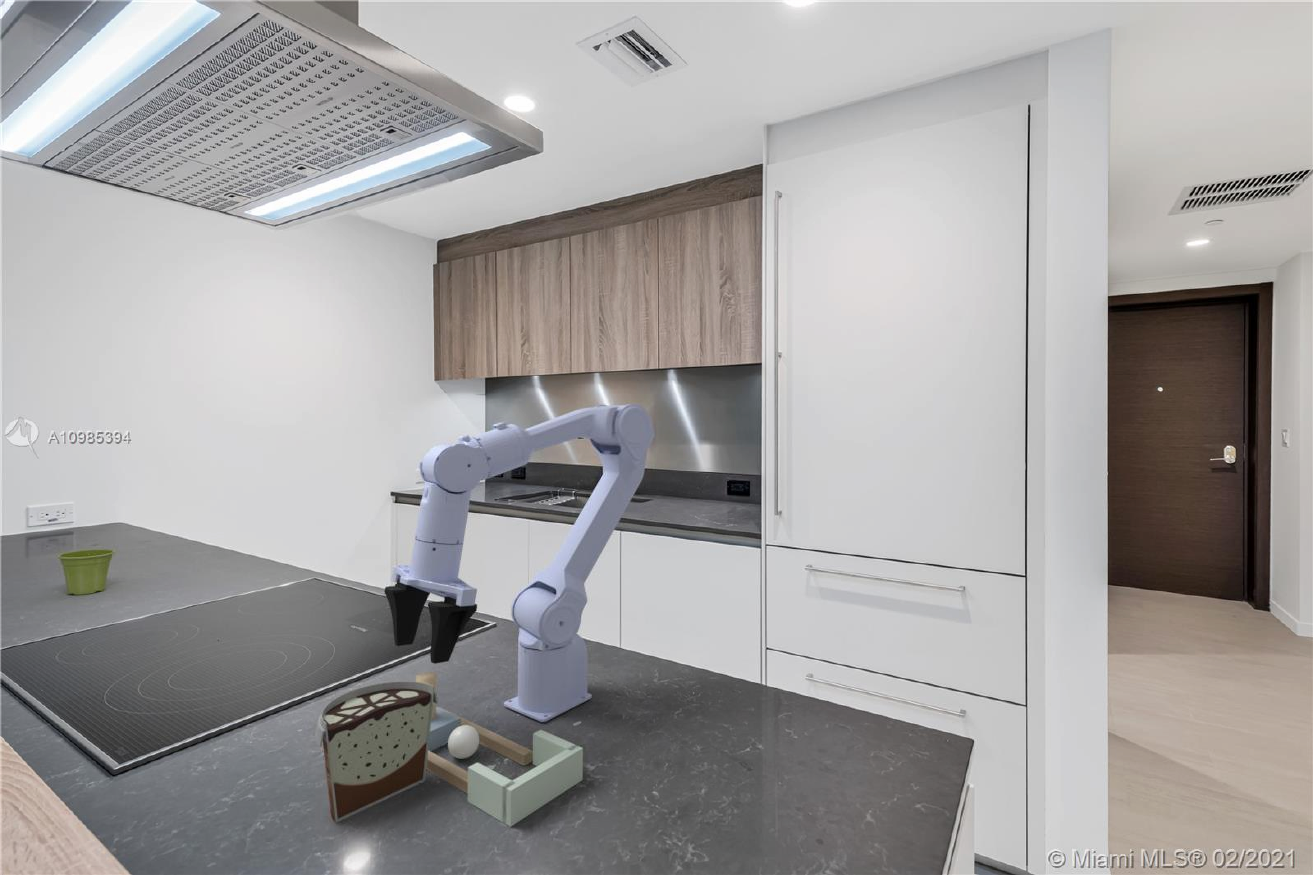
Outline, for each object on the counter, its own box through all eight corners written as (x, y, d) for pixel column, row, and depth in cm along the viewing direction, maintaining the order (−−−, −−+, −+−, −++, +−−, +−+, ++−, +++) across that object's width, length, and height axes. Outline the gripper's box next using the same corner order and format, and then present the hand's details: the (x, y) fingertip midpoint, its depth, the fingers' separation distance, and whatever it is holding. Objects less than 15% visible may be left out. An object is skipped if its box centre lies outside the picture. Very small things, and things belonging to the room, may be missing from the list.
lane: (438, 715, 82) (439, 706, 82) (532, 761, 71) (532, 751, 71) (378, 741, 75) (378, 731, 75) (471, 795, 64) (471, 784, 64)
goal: (540, 759, 71) (540, 729, 71) (582, 780, 67) (582, 748, 67) (467, 801, 63) (467, 767, 63) (510, 827, 59) (510, 790, 59)
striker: (436, 725, 79) (437, 667, 79) (460, 737, 76) (461, 676, 76) (400, 741, 75) (400, 679, 75) (424, 754, 72) (424, 690, 72)
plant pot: (116, 584, 145) (116, 547, 144) (113, 593, 137) (113, 554, 137) (60, 590, 139) (60, 551, 139) (54, 600, 131) (54, 559, 131)
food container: (408, 755, 72) (409, 670, 72) (437, 775, 68) (438, 684, 68) (293, 804, 62) (293, 706, 62) (319, 830, 58) (319, 725, 58)
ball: (466, 745, 74) (467, 716, 74) (485, 755, 72) (485, 725, 72) (441, 758, 71) (441, 728, 71) (459, 768, 69) (460, 737, 69)
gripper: (377, 531, 77) (358, 641, 76) (447, 551, 69) (427, 676, 68) (426, 532, 83) (410, 634, 82) (497, 550, 74) (479, 665, 73)
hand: (421, 652), depth 75 cm, fingers open, 7 cm apart
